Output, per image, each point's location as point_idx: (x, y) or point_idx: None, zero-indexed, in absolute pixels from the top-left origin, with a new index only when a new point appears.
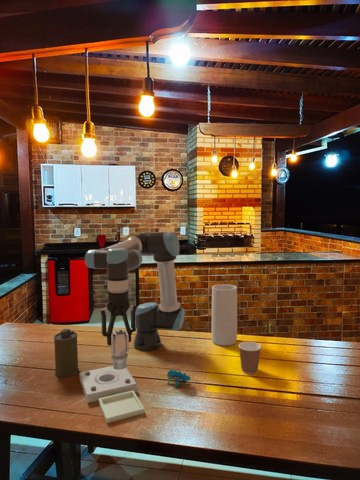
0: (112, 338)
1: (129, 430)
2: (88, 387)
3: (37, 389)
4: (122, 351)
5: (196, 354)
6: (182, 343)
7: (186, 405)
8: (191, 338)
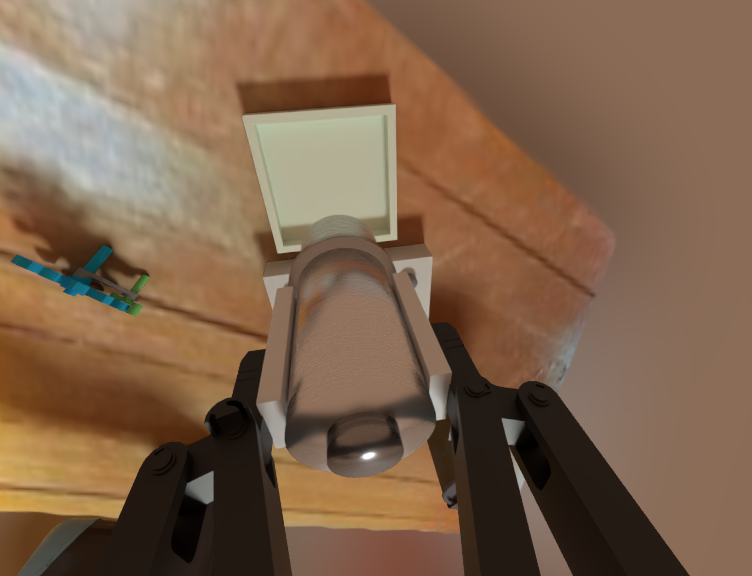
0: (436, 365)
1: (316, 14)
2: (419, 293)
3: (518, 334)
4: (331, 273)
5: (37, 417)
6: (100, 469)
7: (45, 103)
8: (68, 488)
